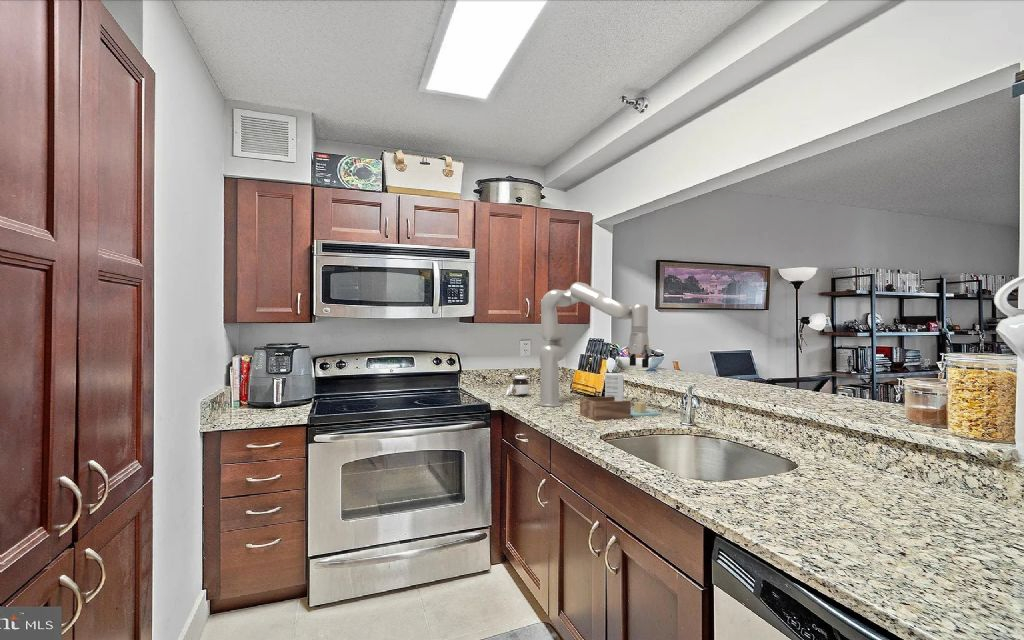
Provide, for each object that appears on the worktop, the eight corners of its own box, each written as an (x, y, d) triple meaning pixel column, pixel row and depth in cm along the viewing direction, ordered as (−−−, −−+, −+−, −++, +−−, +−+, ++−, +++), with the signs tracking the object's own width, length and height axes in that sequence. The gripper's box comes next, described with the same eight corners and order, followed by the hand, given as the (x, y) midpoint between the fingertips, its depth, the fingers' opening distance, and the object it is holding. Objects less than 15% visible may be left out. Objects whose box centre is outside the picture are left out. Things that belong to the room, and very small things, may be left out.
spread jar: (530, 396, 276) (531, 376, 276) (514, 398, 270) (514, 377, 270) (518, 393, 286) (519, 374, 286) (503, 395, 279) (503, 375, 280)
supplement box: (623, 408, 239) (623, 375, 240) (604, 407, 241) (605, 374, 241) (622, 405, 249) (623, 373, 249) (604, 404, 251) (605, 372, 251)
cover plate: (618, 414, 227) (619, 401, 227) (646, 412, 233) (646, 400, 233) (633, 418, 216) (633, 405, 216) (661, 416, 222) (661, 403, 222)
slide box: (580, 414, 221) (580, 398, 221) (613, 412, 227) (613, 396, 228) (595, 420, 208) (595, 402, 208) (630, 418, 214) (630, 400, 214)
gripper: (622, 329, 232) (621, 365, 232) (644, 330, 216) (643, 368, 216) (635, 330, 234) (634, 364, 234) (657, 330, 218) (657, 368, 218)
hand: (638, 366), depth 225 cm, fingers open, 9 cm apart
